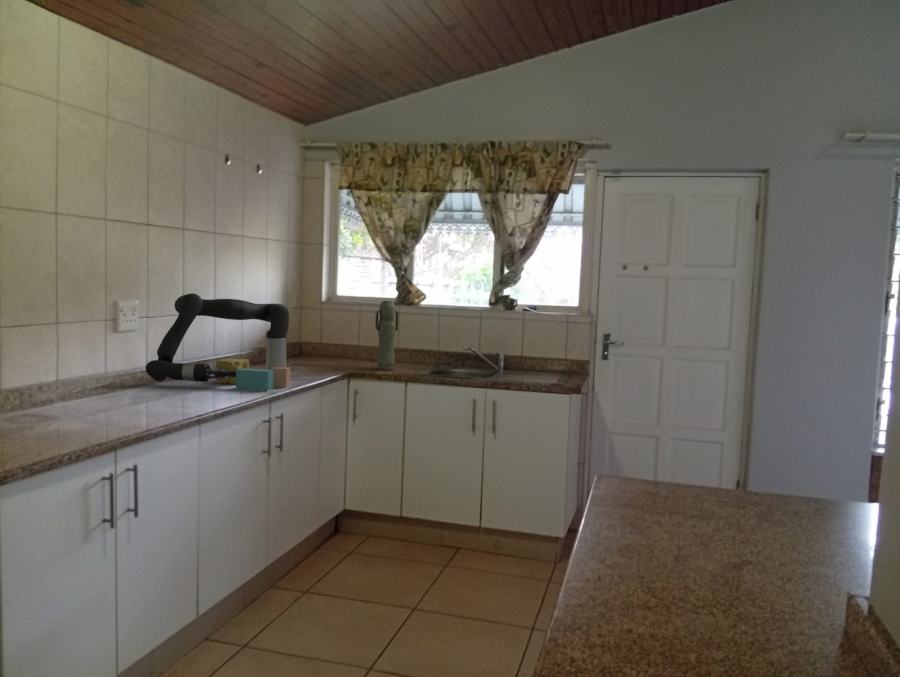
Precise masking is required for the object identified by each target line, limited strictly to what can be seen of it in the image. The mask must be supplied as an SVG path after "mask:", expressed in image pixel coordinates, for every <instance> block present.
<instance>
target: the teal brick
mask: <svg viewBox="0 0 900 677" xmlns="http://www.w3.org/2000/svg"><path fill="white" fill-rule="evenodd" d="M273 372H274V370H266V369H258V368H249V369H245V368H241V369H237V370H236V385H235V389H236V388H237V389H236V390H240V389H249V390H248V391H256V390H270V391H272V390H271V389H273V390H274V387H273Z"/></svg>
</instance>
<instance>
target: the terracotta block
mask: <svg viewBox="0 0 900 677" xmlns="http://www.w3.org/2000/svg"><path fill="white" fill-rule="evenodd" d="M272 370H274V372H273V388H276V387H287V388H289V387H290V386H291V367H289V366H288V367H287V366H286V367H275V368H272ZM289 385H290V386H289ZM288 386H289V387H288Z"/></svg>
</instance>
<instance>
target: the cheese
mask: <svg viewBox="0 0 900 677" xmlns="http://www.w3.org/2000/svg"><path fill="white" fill-rule="evenodd" d="M215 368H218V369H221V368H222V369H227V370H229V371H236V370H237V369H241V368H245V369H250V360H249V359H248V358H246V359H245V358H238V359H237V358H224V359H220V360H216V365H215ZM215 380H216V381H215V382H216V384H220V383H224V384H223V385H225V384H226V383H230V385H233V384H236V377H224V378H215Z"/></svg>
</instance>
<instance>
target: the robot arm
mask: <svg viewBox="0 0 900 677" xmlns="http://www.w3.org/2000/svg"><path fill="white" fill-rule="evenodd" d="M174 309H175V311H176V313H178V316H177V318H176V320H175V321H174V323H173V324H172V325H171V327H169V330H167V332H166V333H165V335H164V337H163V339H162V340H161V342H160V344H159V346H158V348H157V351H156V355H157V359H155V360H154V359H153V360H151V361H149V362H147V363H146V365H145V368H144V369H146V371H145V373H146V372H147V373H146V374H147V375H148V376H149V377H150V378H152V380H154V381H156V382H164V381H165V380H166V379H168V378H169V379H171V380H173V381H186V382H196V383H197V382H199V383H200V382H202V383H207V382H209V379H211V380H213V379H216V378H224V377H236V371H229V370H227V369H222V368H221V369H218V368H216V367H213V368H211V366H210V365H209V364H208V363H197V362H190V363H182V362H179V363H178V362H174V358H175V355H176V353H177V351H178V349H179V347H180V345H181V343H182V341H183V339H184V338H185V335H186V334H187V332H188V330H189V328H190V327H191V325H192V323H193V322H194V321H195V319H196V318H197V317H201V316H202V317H210V318H217V319H224V320H231V321H247V320H257V321H263V322H268V323H270V328H269V330H267V331H266V336H265V337H266V340H265V341H266V344H265V345H266V348H265V354H266V355H265V356H266V357H265V370H272V368H275V367H287V336H288V332H289V324H290V321H289V320H290V314H289V308H288V307H287V306H286V305H285V304H282V303H256V302H255V303H253V302H250V301H247V300H242V299H235V298H215V299H213V298H212V299H203V298H201V296H200V295H198V294H197V293H186V294H183V295H181V296H179V297H178V298H177V299H176V300H175V301H174Z"/></svg>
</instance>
